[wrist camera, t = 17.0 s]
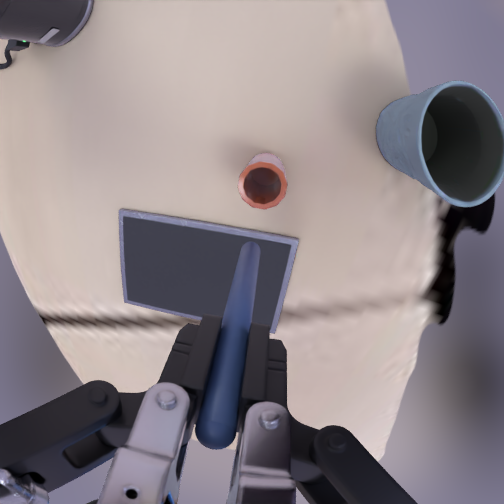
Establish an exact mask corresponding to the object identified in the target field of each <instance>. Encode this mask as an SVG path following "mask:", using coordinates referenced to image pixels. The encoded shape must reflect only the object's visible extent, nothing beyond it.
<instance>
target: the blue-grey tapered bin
mask: <svg viewBox="0 0 504 504" xmlns="http://www.w3.org/2000/svg"><path fill="white" fill-rule="evenodd" d="M376 135H377V142H378V146H379V148H380V151H381V153H382V155H383V156H384V158H385V159H386V160H387V161H388V162H389V163H390V164H391V165H392V166H393V167H394V168H396V169H398V170H399V171H401V172H403V173H405V174H407V175H408V176H410V177H412V178H413V179H417V180H418V181H420V182H421V183H422V184H423V185H424V186H426V187H428V188H429V189H431V190H432V191H433V192H435V193H436V194H437V195H439V196H440V197H441V198H443V199H444V200H446V201H447V202H449V203H451V204H453V205H456V206H461V207H471V206H475V205H479V204H481V203H482V202H484V201H486V200H487V199H489V198H490V197H491V196H492V195H493V193H494V192H495V191H496V189H497V188H498V186H499V185H500V183H501V182H502V180H503V177H504V120H503V118H502V116H501V113H500V111H499V109H498V108H497V106H496V105H495V103H494V102H493V101H492V100H491V98H490V97H489V96H488V95H487V94H486V93H485V92H484V91H483V90H481V89H480V88H478V87H477V86H475V85H473V84H471V83H468V82H464V81H450V82H446V83H443V84H441V85H438V86H435V87H432V88H429V89H427V90H425V91H424V92H422V93H420V94H416V95H410V96H407V97H404V98H401V99H398V100H396V101H394V102H392V103H390V104H389V105H388V106H387V107H386V108H385V109H384V110H383V111H382V112H381V114H380V116H379V119H378V121H377V125H376Z"/></svg>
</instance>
